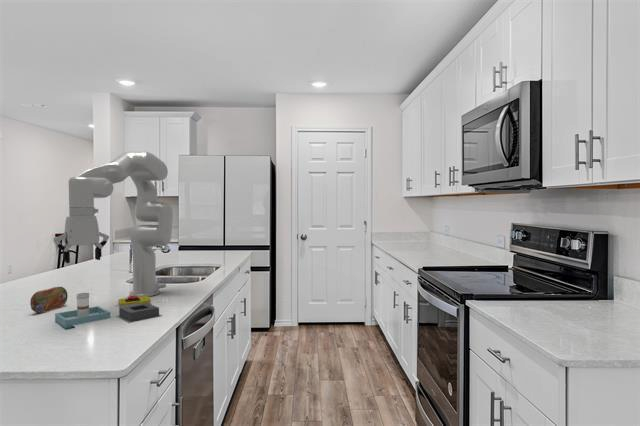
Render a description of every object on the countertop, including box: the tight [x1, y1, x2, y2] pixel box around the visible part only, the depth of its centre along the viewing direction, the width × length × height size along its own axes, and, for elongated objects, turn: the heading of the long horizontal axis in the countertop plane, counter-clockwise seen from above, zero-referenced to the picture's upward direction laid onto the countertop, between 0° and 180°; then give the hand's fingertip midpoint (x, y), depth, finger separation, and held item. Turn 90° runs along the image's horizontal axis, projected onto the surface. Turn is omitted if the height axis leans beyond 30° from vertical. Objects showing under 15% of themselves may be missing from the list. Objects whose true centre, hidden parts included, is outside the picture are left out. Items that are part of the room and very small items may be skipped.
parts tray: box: [54, 305, 111, 330], centre depth 144 cm, size 14×12×3 cm
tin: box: [29, 286, 69, 314], centre depth 159 cm, size 15×3×8 cm, turn 168°
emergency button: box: [113, 296, 152, 308], centre depth 165 cm, size 9×4×15 cm
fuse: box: [76, 292, 90, 318], centre depth 144 cm, size 4×4×9 cm
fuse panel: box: [115, 303, 163, 324], centre depth 147 cm, size 12×12×4 cm
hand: (82, 261), depth 144 cm, fingers open, 9 cm apart
